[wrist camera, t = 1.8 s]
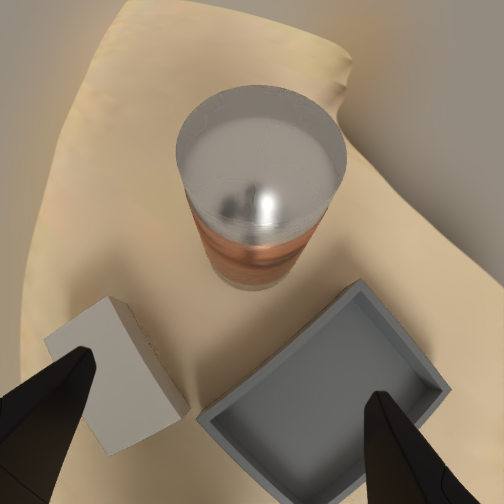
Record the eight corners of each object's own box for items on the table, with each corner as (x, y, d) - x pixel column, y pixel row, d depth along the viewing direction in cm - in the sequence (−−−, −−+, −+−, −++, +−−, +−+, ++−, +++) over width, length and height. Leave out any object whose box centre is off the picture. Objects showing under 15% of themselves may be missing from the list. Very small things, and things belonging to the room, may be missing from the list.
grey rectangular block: (128, 442, 20) (108, 456, 16) (70, 341, 22) (43, 339, 18) (191, 407, 21) (181, 419, 17) (127, 304, 23) (107, 295, 19)
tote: (300, 508, 18) (307, 525, 15) (201, 410, 21) (195, 419, 18) (431, 387, 21) (451, 389, 18) (347, 286, 24) (360, 277, 21)
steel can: (246, 310, 23) (252, 264, 10) (189, 242, 24) (143, 137, 12) (314, 253, 24) (380, 159, 12) (257, 191, 26) (269, 65, 13)
